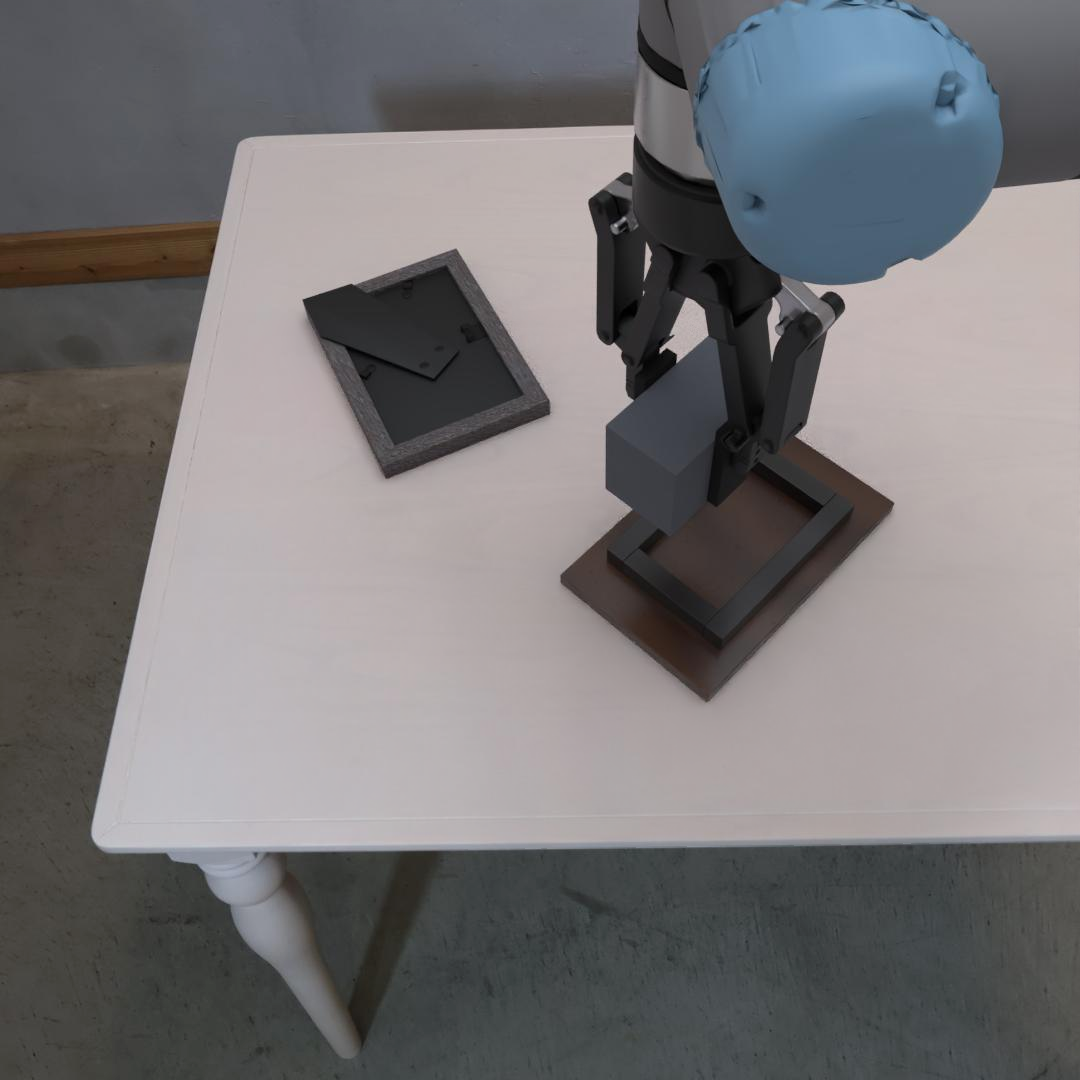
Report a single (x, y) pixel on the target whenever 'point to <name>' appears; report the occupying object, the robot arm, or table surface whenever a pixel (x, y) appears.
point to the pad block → (669, 441)
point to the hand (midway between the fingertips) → (688, 462)
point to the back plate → (729, 564)
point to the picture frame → (424, 361)
